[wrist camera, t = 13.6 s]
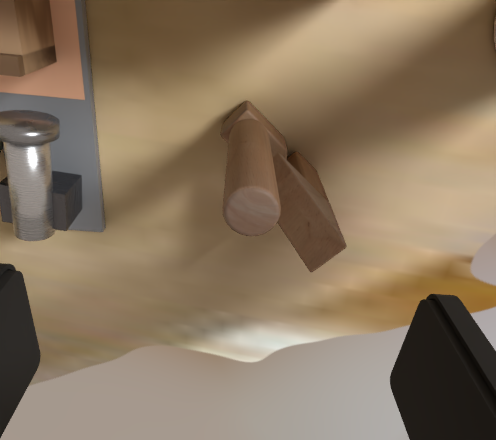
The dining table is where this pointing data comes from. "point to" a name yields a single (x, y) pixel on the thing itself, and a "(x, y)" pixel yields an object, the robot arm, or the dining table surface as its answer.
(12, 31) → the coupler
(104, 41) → the dining table surface
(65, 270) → the dining table surface
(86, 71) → the pink grey flat board
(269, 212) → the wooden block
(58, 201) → the shaft
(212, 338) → the dining table surface
